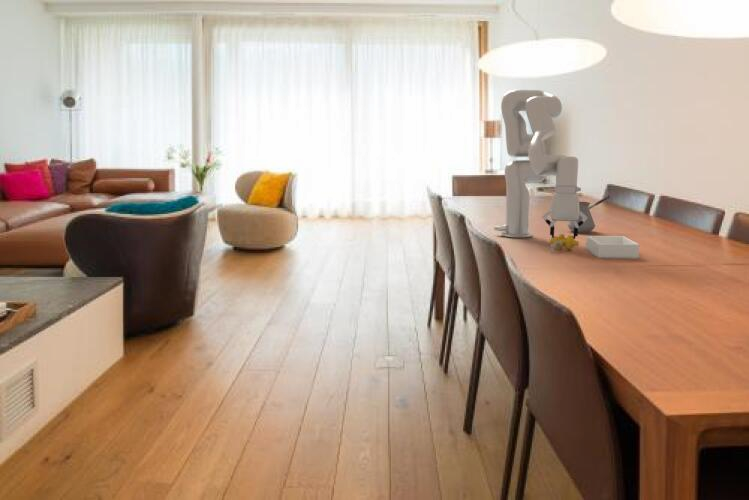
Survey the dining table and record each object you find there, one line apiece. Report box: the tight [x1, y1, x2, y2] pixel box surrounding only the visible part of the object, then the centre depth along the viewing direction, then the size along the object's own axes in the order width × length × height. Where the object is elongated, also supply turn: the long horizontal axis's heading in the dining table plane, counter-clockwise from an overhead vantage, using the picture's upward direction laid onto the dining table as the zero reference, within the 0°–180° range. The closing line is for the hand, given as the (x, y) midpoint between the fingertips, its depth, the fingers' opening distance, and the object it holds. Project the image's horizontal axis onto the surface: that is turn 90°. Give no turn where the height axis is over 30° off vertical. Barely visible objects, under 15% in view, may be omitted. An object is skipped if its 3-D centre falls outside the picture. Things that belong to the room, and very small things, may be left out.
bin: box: [585, 235, 640, 260], centre depth 220 cm, size 13×17×5 cm
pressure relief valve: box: [549, 233, 579, 253], centre depth 225 cm, size 6×12×10 cm
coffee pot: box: [567, 195, 612, 234], centre depth 269 cm, size 21×12×15 cm, turn 113°
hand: (563, 237), depth 229 cm, fingers closed on pressure relief valve, 7 cm apart
